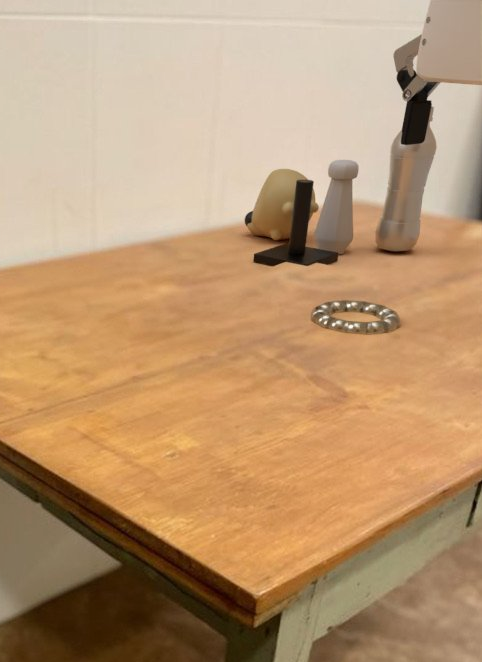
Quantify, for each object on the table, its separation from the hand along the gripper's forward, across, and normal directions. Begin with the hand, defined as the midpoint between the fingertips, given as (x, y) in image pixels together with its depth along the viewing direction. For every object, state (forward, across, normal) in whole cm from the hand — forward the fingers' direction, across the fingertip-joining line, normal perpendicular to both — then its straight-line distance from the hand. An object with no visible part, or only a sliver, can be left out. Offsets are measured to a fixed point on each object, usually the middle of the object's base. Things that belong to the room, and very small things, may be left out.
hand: (452, 149), depth 81 cm
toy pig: (+20, +44, -23) cm, 53 cm away
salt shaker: (+20, +32, -24) cm, 45 cm away
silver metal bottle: (+20, +27, -32) cm, 46 cm away
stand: (+20, +32, -15) cm, 40 cm away
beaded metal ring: (+19, +6, +2) cm, 20 cm away
